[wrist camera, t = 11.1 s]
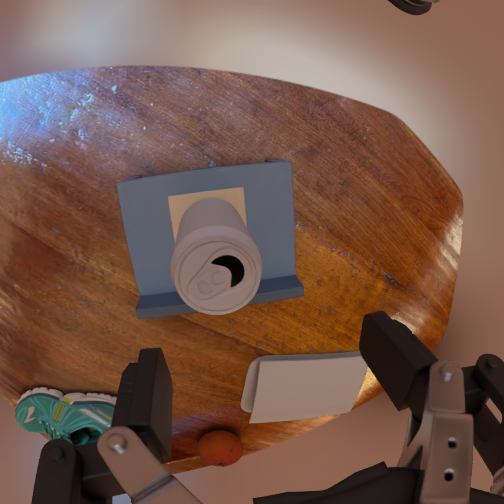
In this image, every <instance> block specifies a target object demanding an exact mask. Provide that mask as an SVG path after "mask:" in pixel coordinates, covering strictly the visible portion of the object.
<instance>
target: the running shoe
mask: <svg viewBox="0 0 504 504" xmlns="http://www.w3.org/2000/svg"><path fill="white" fill-rule="evenodd" d="M116 399H117V397H116V396H115V397H113V396H111V395H110V394H105V393H101V394H98V393H97V392H94V393H91V392H89V393H87V395H85V394H83V393H69V394H66V395H64V394H63V392H61V391H58V390H55V389H49V390H48V388H45V387H40V388H39V387H37V388H34V389H33V390H28V391H27V392H26V393H24V394H23V395H22V396H21V399H19V400H18V401H17V406H16V411H15V412H16V419H17V422H18V423H19V425H20V426H21V427H22V428H23V429H25V430H27V431H30V432H39V433H46V434H48V435H49V437H50V438H51V439H52V440H53V439H57V438H62V439H65V440H68V441H69V442H70V443H71V444H72V445H73V446H79V445H84V444H89V443H93V442H96V441H98V438H99V437H100V435H101V434H102V433H103V432H104V431H105V430H107V429H109V428H110V427H111V423H112V418H113V413H114V408H115V404H116Z"/></svg>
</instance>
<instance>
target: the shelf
mask: <svg viewBox="0 0 504 504" xmlns="http://www.w3.org/2000/svg"><path fill="white" fill-rule="evenodd" d="M117 190H118V197H119V203H120V208H121V214H122V219H123V224H124V229H125V234H126V239H127V244H128V248H129V253H130V257H131V262H132V266H133V270H134V274H135V278H136V282H137V286H138V290H139V293H140V298H139V301H138V304H137V307H136V313H137V316H138V319H144V318H154V317H163V316H171V315H180V314H188V313H196V312H199V311H196V310H194V309H193V308H191V307H190V306H188V305H187V304H186V303H185V302H184V301H183V300H182V298H181V297H180V295H179V293H178V291H177V290H176V288H175V286H174V284H173V282H172V278H171V272H170V265H171V259H172V255H173V250H174V246H175V242H176V237H177V233H178V229H179V225H180V221H181V218H182V216H183V214H184V213H185V211H186V210H187V209H188V208H189V207H190V206H191V205H192V204H194V203H195V202H197V201H199V200H202V199H207V198H216V199H221V200H224V201H226V202H228V203H230V204H231V205H232V206H233V207H234V208H235V209H236V210H237V211H238V213H239V214H240V216H241V218H242V220H243V222H244V224H245V226H246V227H247V229H248V231H249V233H250V235H251V237H252V239H253V240H254V242H255V244H256V246H257V248H258V250H259V252H260V255H261V258H262V275H261V279H260V284H259V287H258V290H257V292H256V294H255V295H254V297H253V298H252V299H251V300H250V301H249V302H248V303H247V304H246V305H253V304H259V303H265V302H271V301H278V300H284V299H289V298H295V297H301V296H304V286H303V285H302V283H301V282H300V281H299V279H298V278H297V276H296V275H295V235H294V205H293V182H292V163H291V162H290V161H285V160H280V159H266V160H265V162H264V163H252V164H240V165H230V166H221V167H212V168H204V169H196V170H188V171H181V172H174V173H167V174H161V175H154V176H148V177H142V178H141V175H137V176H131V177H128V178H126V179H124V180H122V181H120V182H118V183H117ZM246 305H245V306H246Z"/></svg>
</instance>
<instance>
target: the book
mask: <svg viewBox="0 0 504 504" xmlns="http://www.w3.org/2000/svg"><path fill="white" fill-rule="evenodd" d="M367 367H368V365H367V364H366V362H365V361H364V359H363V358H362V356H361V354H360V351H353V352H340V353H324V354H303V355H266V356H262V357H258V358H257V359H255V360H254V361H253V362H252V363H251V364H250V366H249V368H248V372H247V377H246V381H245V386H244V391H243V395H242V400H241V408H242V409H243V410H244V411H245V412H250V413H252V414H251V418H250V422H249V423H265V422H279V421H290V420H300V419H308V418H316V417H323V416H330V415H336V414H342V413H348V412H350V410H351V409H352V407H353V405H354V403H355V401H356V398H357V396H358V394H359V391H360V389H361V387H362V384H363V381H364V378H365V375H366V371H367Z"/></svg>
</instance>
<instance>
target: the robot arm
mask: <svg viewBox="0 0 504 504" xmlns="http://www.w3.org/2000/svg"><path fill="white" fill-rule="evenodd" d="M402 1H404V2H405V3H407V4H409V5H411V6H415V7H421V6H424V5H426V4H427V3H430V2H433V3H436V2H439V0H402ZM359 350H360V354H361V356H362V358H363V359H364V361H365V362H366V364H367V365H368V367H369V368H370V370H371V371H372V373H373V374H374V375H375V377H376V378H377V380H378V381H379V383H380V384H381V386H382V387H383V389H384V390H385V392H386V393H387V394H388V396H389V397H390V399H391V401H392V402H393V404H394V405H395V407H396V408H397V410H398V411H401V410H403V409H406V408H408V407H409V408H410V410H411V412H410V414H409V419H408V425H407V431H406V436H405V441H404V446H403V451H402V454H401V457H400V459H399V461H398V464H397V466H396V467H389V468H387V466H386V464H385V462H384V461H383V462H381V463H379V464H376V465H374V466H371V467H369V468H366V469H363V470H361V471H358V472H355V473H354V474H352V475H350V476H349V477H347V478H346V479H344V480H342V481H341V482H339V483H337V484H335V485H334V486H332V487H330V488H328V489H326V490H323V491H305V492H285V493H280V494H275V495H270V496H264V497H258V498H253V503H254V504H504V362H503V361H502V360H501V359H500V358H499V357H497V356H495V355H493V354H483V355H481V356H480V357H479V358H478V360H477V363H476V365H475V366H469V367H463V368H460V367H459V366H458V365H457V364H456V363H454V362H452V361H447V360H440V361H439V360H438V359H437V358H436V357H435V356H434V355H433V354H432V353H431V351H430V350H429V349H428V348H427V347H426V346H425V345H424V344H423V343H422V342H421V341H420V340H418V338H417V337H416V336H415V335H414V334H412V331H411V330H410V329H409V328H408V327H407V326H406V325H404V324H403V323H401V322H399V321H397V320H395V319H394V320H392V319H391V318H390V317H389V316H388V315H387V314H386V313H385V312H384V311H378V312H374V313H370V314H366V315H365V316H364V319H363V324H362V330H361V336H360V342H359ZM172 397H173V386H172V379H171V376H170V373H169V370H168V367H167V364H166V361H165V358H164V355H163V352H162V349H161V348H147V349H141V350H140V354H139V359H138V363H129V365H128V366H127V367H126V369H125V370H124V371H123V373H122V377H121V381H120V385H119V390H118V394H117V399H116V404H115V408H114V413H113V418H112V423H111V427H110V428H109V429H107V430H105V431H104V432H103V433H102V434H101V435H100V437H99V438H98V441H96V442H93V443H89V444H84V445H79V446H73V445H72V444H71V443H70V442H69V441H68V440H65V439H62V438H57V439H53V440H50V441H49V442H47V443H46V444H45V445H44V447H43V449H42V451H41V455H40V459H39V464H38V468H37V474H36V479H35V484H34V491H33V497H32V504H112V496H116V495H120V494H125V493H127V494H128V495H129V497H130V498H131V502H132V504H203V503H202V502H201V501H200V500H198V499H197V498H196V497H195V496H194V495H193V494H192V493H191V492H190V491H189V490H188V489H187V488H186V487H185V486H184V485H183V484H182V483H181V482H180V481H179V480H178V479H177V478H176V477H174V476H173V475H171V474H170V473H169V472H168V471H167V470H166V469H165V467H164V466H163V465H162V460H171V433H172ZM489 398H490V399H491V400H492V401H493V403H494V404H495V405H496V407H497V408H498V409H499V410H500V412H501V413H502V422H501V424H500V423H499V421H498V420H497V419H496V417H495V416H494V415H493V413H492V412H491V411H490V409H489V408H488V407H487V405H486V402H487V401H488V399H489ZM473 445H474V446H475V448H476V449H477V451H478V452H479V454H480V456H481V457H482V459H483V461H484V462H485V464H486V465H487V467H488V469H489V470H490V472H491V474H492V475H493V477H494V479H493V484H492V486H491V488H490V492H491V493H489V492H485V491H482V490H477V489H474V488H471V487H470V486H471V476H472V461H473Z"/></svg>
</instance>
